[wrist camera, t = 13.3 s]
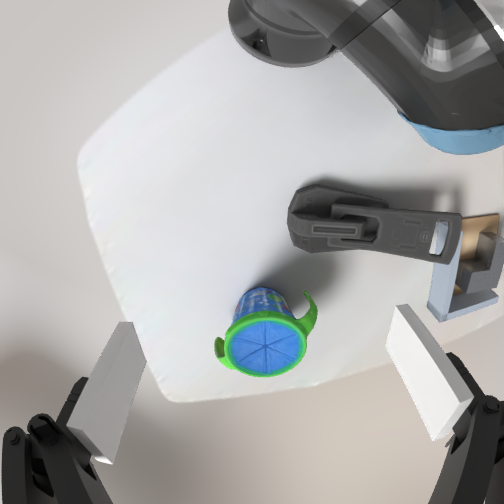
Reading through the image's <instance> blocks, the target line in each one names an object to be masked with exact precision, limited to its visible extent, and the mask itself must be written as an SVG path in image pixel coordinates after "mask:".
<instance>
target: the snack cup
mask: <svg viewBox="0 0 504 504" xmlns="http://www.w3.org/2000/svg"><path fill="white" fill-rule="evenodd" d="M304 294H305V296H306V298H307V299H308V301H309V302H310V309H309V310H308V312H307V313H306V314H305V316H304V317H302V318H300V319H296V318H295V317H294V315H293V314H292V312H291V310H290V308H289V306H288V305H287V303H286V301H285V299H284V298H283V296H282V295H280V294H279V293H277V292H276V291H274V290H271V289H266V288H263V287H260V288H259V287H258V288H257V289H254V290H251V291H249V292H248V293H246V294H245V295H244V296H243V297H242V298H241V299H240V301H239V303H238V305H237V308H236V311H235V314H234V318H233V322H232V324H231V327H229V329H228V330H227V332H226V334H225V336H226V337H225V341H224V340H223V339H222V338H220V337H217V338H216V340H215V354H216V357H217V359H218V360H219V361H220V362H221V363H222V364H223V365H225V366H226V367H227V368H230V369H235V370H238V371H240V372H242V373H244V374H246V375H249V376H254V377H272V376H277V375H280V374H283V373H285V372H287V371H289V370H291V369H293V368H294V367H295V366H296V365H297V364H298V363H299V362H300V361H301V360H302V358H303V357H304V355H305V352H306V348H307V341H306V339H307V336H308V334H309V333H310V332H311V330H312V329H313V328H314V325H315V322H316V319H317V306H316V305H315V303H314V302H313V300H312V299H311V297H310V295H309V294H308V293H307V292H306V291H304Z"/></svg>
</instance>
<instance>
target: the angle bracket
mask: <svg viewBox="0 0 504 504" xmlns="http://www.w3.org/2000/svg"><path fill="white" fill-rule="evenodd" d="M503 264H504V239H503V238H502V237H500V236H498V235H497V234H495V233H493V232H479V237H478V242H477V247H476V252H475V256H474V258H470V259H461V260H459V263H458V269H457V274H456V280H455V284H456V285H457V286H458V287H459V288H460V289H461V290H462V291H464V292H465V293H466V294H468V293H473V292H478V291H483V290H487V289H492V288H496V287H497V285H498V281H499V278H500V275H501V271H502V268H503Z"/></svg>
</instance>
